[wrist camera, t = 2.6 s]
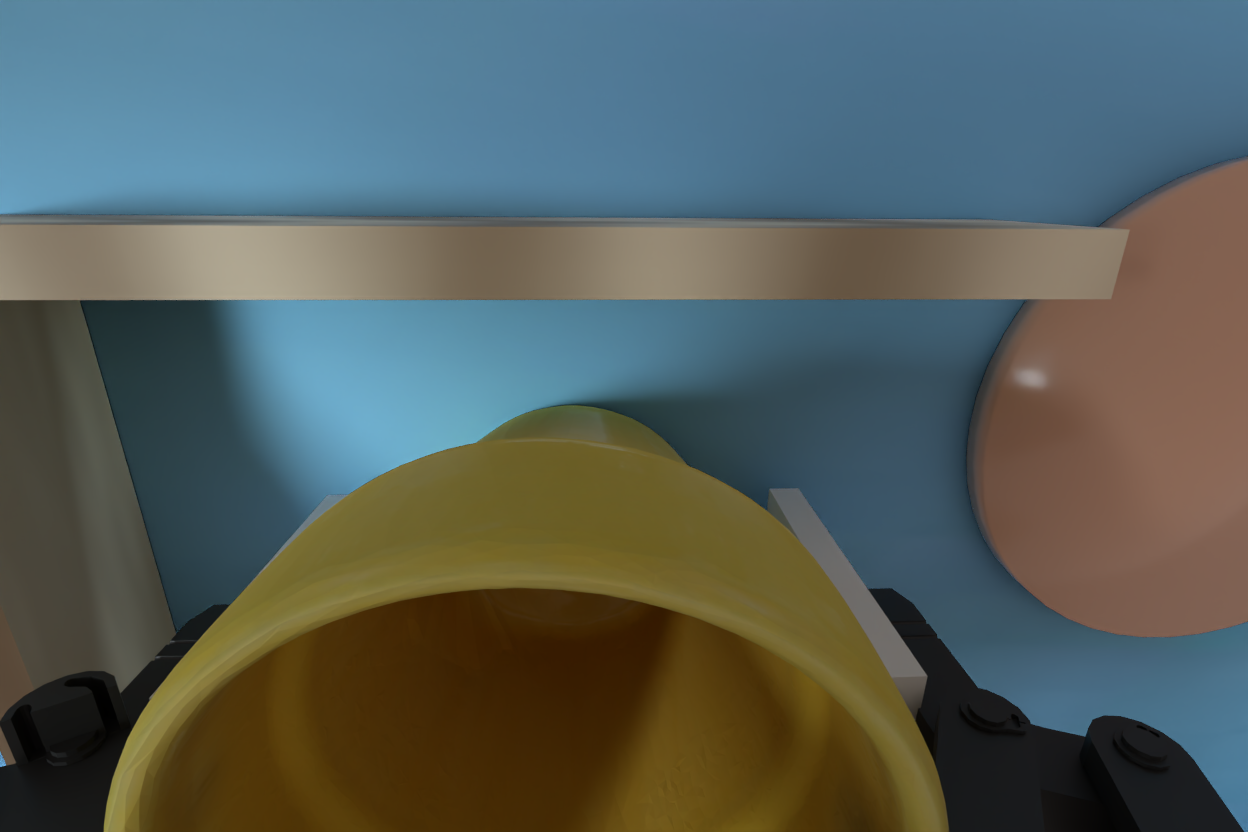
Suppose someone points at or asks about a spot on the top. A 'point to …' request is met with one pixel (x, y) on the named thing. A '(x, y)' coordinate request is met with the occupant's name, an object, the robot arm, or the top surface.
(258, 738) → the plant pot
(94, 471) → the slot cradle
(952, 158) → the top surface
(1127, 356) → the disc
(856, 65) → the top surface
